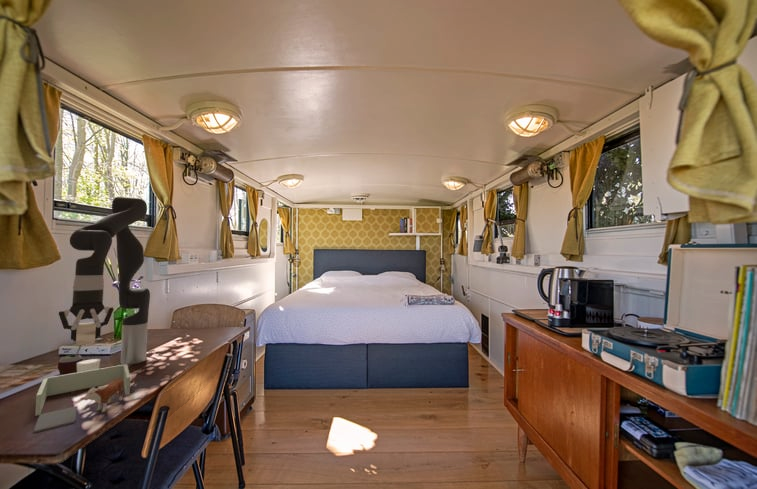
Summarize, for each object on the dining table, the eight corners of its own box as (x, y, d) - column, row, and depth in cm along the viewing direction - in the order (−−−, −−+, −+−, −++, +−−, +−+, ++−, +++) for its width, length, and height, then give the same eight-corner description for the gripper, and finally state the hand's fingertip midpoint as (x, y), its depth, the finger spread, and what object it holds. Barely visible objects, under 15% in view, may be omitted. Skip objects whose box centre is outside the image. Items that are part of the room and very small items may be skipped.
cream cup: (76, 384, 115) (77, 365, 116) (74, 379, 120) (75, 361, 120) (100, 379, 120) (101, 361, 121) (98, 374, 125) (99, 357, 125)
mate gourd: (52, 380, 118) (54, 341, 119) (65, 373, 126) (67, 336, 127) (77, 378, 121) (79, 339, 122) (88, 371, 128) (90, 335, 129)
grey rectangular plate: (39, 416, 92) (39, 414, 92) (77, 407, 97) (77, 406, 97) (33, 433, 83) (33, 431, 83) (75, 422, 89) (75, 420, 89)
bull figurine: (79, 418, 91) (80, 390, 91) (114, 398, 104) (116, 373, 105) (94, 418, 91) (96, 390, 91) (128, 398, 104) (129, 373, 105)
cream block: (76, 342, 104) (77, 323, 104) (94, 340, 107) (96, 321, 108) (75, 345, 101) (76, 325, 101) (94, 343, 104) (95, 323, 104)
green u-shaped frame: (42, 396, 105) (44, 378, 106) (126, 379, 120) (126, 364, 120) (35, 415, 92) (36, 395, 92) (129, 394, 107) (130, 377, 107)
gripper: (115, 287, 113) (113, 334, 111) (59, 289, 103) (56, 341, 102) (116, 288, 107) (114, 338, 106) (57, 290, 97) (53, 345, 96)
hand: (85, 339), depth 104 cm, fingers closed on cream block, 4 cm apart
